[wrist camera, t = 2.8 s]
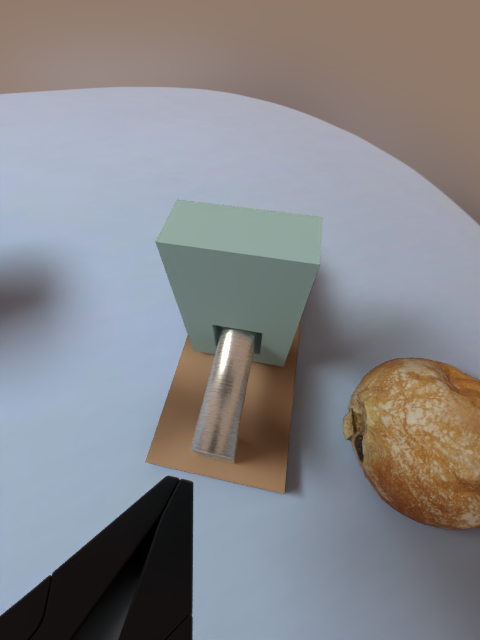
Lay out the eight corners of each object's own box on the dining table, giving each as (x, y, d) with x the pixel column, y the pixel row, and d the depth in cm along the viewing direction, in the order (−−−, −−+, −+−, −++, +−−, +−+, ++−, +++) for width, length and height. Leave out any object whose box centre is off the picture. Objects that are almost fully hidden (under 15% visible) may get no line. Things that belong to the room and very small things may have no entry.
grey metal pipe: (235, 464, 17) (234, 457, 13) (197, 455, 18) (184, 447, 14) (272, 261, 27) (278, 220, 22) (246, 257, 27) (247, 216, 23)
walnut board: (282, 493, 17) (284, 494, 16) (149, 463, 18) (144, 461, 17) (303, 272, 27) (305, 264, 26) (216, 260, 28) (215, 252, 27)
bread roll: (332, 390, 25) (315, 366, 18) (458, 354, 22) (491, 310, 15) (381, 523, 19) (381, 556, 13) (554, 499, 17) (664, 526, 10)
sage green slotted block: (283, 366, 20) (319, 264, 11) (193, 350, 21) (155, 241, 12) (287, 332, 22) (322, 217, 12) (203, 318, 23) (177, 199, 13)
